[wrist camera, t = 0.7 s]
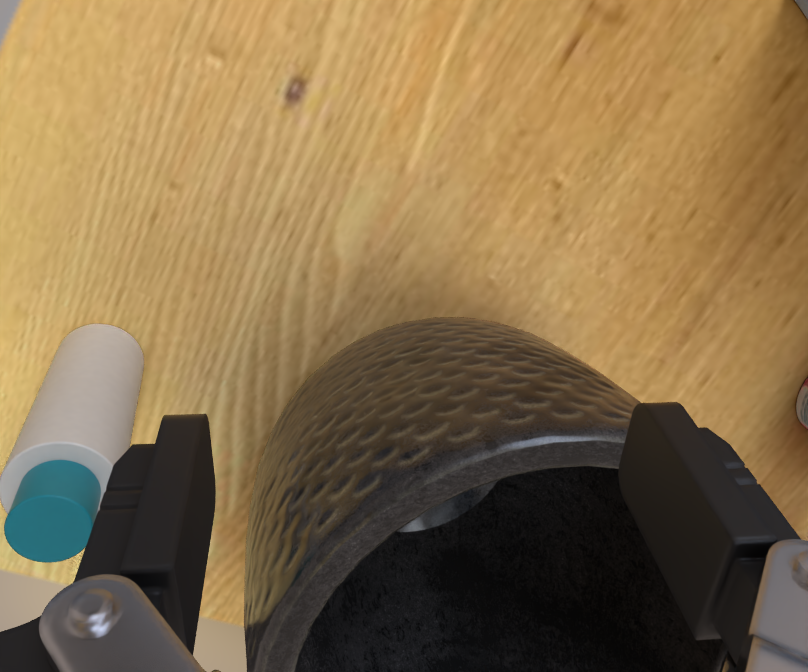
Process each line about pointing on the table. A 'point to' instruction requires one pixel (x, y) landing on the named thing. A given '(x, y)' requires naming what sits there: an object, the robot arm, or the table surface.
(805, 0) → the grey bin
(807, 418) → the cup
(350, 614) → the planter
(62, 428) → the bottle
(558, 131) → the table surface
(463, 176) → the table surface
